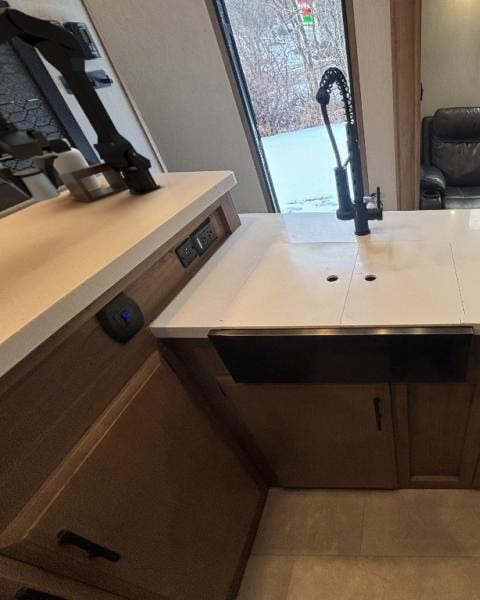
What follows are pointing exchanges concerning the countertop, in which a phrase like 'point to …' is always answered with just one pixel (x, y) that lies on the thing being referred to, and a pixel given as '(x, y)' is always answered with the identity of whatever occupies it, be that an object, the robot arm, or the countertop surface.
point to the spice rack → (74, 177)
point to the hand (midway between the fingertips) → (43, 193)
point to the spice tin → (37, 184)
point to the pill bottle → (75, 166)
